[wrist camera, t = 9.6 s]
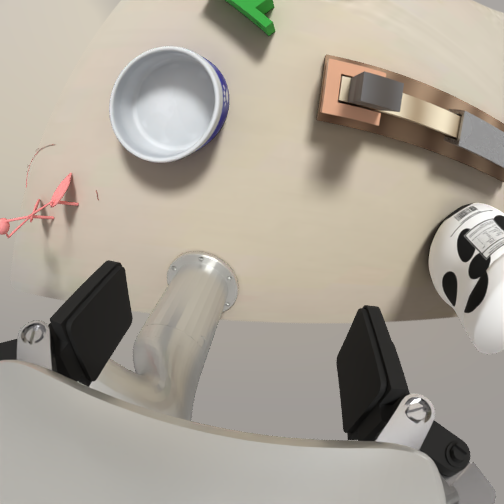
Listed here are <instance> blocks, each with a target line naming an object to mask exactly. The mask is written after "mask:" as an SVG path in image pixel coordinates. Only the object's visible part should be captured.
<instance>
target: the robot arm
mask: <svg viewBox="0 0 504 504" xmlns="http://www.w3.org/2000/svg"><path fill="white" fill-rule="evenodd" d="M167 283H168V287H167V288H166V290H165V292H164V293H163V295H162V296H161V298H160V300H159V301H158V303H157V304H156V306H155V308H154V309H153V311H152V312H151V314H150V316H149V317H148V319H147V321H146V322H145V324H144V326H143V327H142V329H141V331H140V332H139V334H138V336H137V338H136V340H135V343H134V347H133V361H134V367H135V371H136V373H134V372H132V371H131V370H128V369H126V368H125V367H123V366H121V365H120V364H118V363H116V362H115V361H113V360H111V359H110V356H111V355H112V353H113V352H114V350H115V349H116V347H117V346H118V344H119V342H120V341H121V339H122V338H123V336H124V335H125V333H126V332H127V330H128V329H129V327H130V325H131V323H132V313H131V307H130V301H129V295H128V288H127V281H126V274H125V269H124V267H122V265H121V263H118V262H114V261H109V260H108V261H106V262H105V263H104V264H103V265H102V266H101V267H100V268H99V269H98V270H97V271H96V272H94V273H93V274H92V275H91V276H90V277H89V278H88V279H87V280H86V281H85V282H84V283H83V284H82V285H81V286H80V287H79V288H78V289H77V290H76V291H75V293H74V294H73V295H72V296H71V297H70V298H69V299H68V300H67V301H66V302H65V303H64V304H63V305H62V306H61V307H60V308H59V309H58V311H57V312H56V313H55V314H54V315H53V316H52V317H51V318H50V321H51V323H50V324H49V325H47V324H46V323H45V322H43V321H40V320H36V321H31V322H28V323H27V324H25V325H24V326H23V327H22V328H21V330H20V331H19V333H18V339H15V340H11V341H7V342H3V343H0V504H494V503H495V498H496V495H495V490H494V488H493V487H492V486H491V484H490V483H489V481H488V480H487V479H486V478H485V476H484V475H483V474H482V472H481V471H480V470H479V468H478V467H477V466H476V464H475V463H474V462H473V463H471V464H470V462H469V460H470V451H469V448H468V446H467V444H466V443H465V442H463V441H462V440H461V439H459V438H458V437H457V436H455V435H454V434H452V433H451V432H450V431H448V430H447V429H445V428H444V427H442V426H441V425H440V424H438V423H437V422H435V421H434V417H435V409H434V407H433V404H432V403H431V402H430V400H428V399H427V398H426V397H425V396H422V395H420V394H410V393H409V390H408V386H407V383H406V380H405V377H404V373H403V370H402V367H401V364H400V361H399V358H398V355H397V352H396V349H395V346H394V344H393V342H392V341H391V338H390V335H389V332H388V330H387V327H386V324H385V321H384V319H383V316H382V313H381V311H380V308H379V307H376V306H368V305H365V306H364V307H363V308H360V309H359V310H358V311H357V314H356V316H355V318H354V321H353V323H352V325H351V328H350V330H349V332H348V334H347V337H346V339H345V341H344V343H343V346H342V347H341V350H340V352H339V354H338V356H337V371H338V378H339V388H340V398H341V408H342V419H343V429H344V432H345V433H348V440H358V441H339V440H337V441H336V440H314V439H299V438H286V437H277V436H268V435H261V434H254V433H246V432H241V431H235V430H230V429H224V428H219V427H214V426H209V425H205V424H200V423H196V422H192V421H191V417H192V408H193V402H194V397H195V393H196V389H197V385H198V381H199V378H200V375H201V372H202V369H203V366H204V363H205V360H206V357H207V354H208V352H209V349H210V346H211V343H212V340H213V337H214V334H215V331H216V328H217V325H218V322H219V319H220V316H221V314H222V312H224V311H226V310H227V309H229V308H230V307H231V306H232V305H233V304H234V302H235V300H236V298H237V295H238V289H239V287H238V281H237V278H236V275H235V274H234V272H233V270H232V269H231V268H230V267H229V266H228V265H227V264H226V263H225V262H224V261H223V260H221V259H219V258H218V257H216V256H214V255H211V254H209V253H204V252H187V253H185V254H182V255H180V256H179V257H177V258H176V259H175V260H174V261H173V262H172V264H171V265H170V267H169V269H168V273H167Z"/></svg>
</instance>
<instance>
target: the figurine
mask: <svg viewBox="0 0 504 504" xmlns="http://www.w3.org/2000/svg"><path fill="white" fill-rule="evenodd" d="M52 145H53V144H52ZM43 148H44V147H43ZM38 149H39V148H38ZM38 149H37V150H38ZM40 150H41V149H40ZM38 152H39V151H38ZM38 152H37V153H38ZM37 153H36V154H37ZM36 154H35V155H36ZM32 160H33V159H32ZM31 162H32V161H31ZM71 175H72V173H70V174H69V175H68V176H67V177H66V178H65V179H64V180H63V181H62V182H61V183H60V185H59V186H58V187H57V189H56V190H55V192H54V194H53V196H52V199H51V202H49V203H47V204H46V205H44V206H43V207H41V208H39V209H38V210H37V207H38V204H39V202H40V199H38V201H37V203H36V205H35V207H34V210H33V213H32V214H30V215H29V216H25V217H19V218H14V219H9V220H7V219H6V218H1V219H0V234H6V236H7V237H8V238H9V237H11V236H12V235H13V233H15V232H16V231H17V230H18V229H19V228H20V227H21V226H22V225H23V224H24V223H25V222H26V221H27V220H28V219H29V218H31V219H30V222H32V220H33V218H41V219H54V217H52V216H37V215H35V214H36V213H37V212H39V211H40V210H42V209H43V208H45V207H46V206H48V205H49V204H50V206H51V207H54V206H56V205H57V204H65V205H74V206H78V205H79V204H78V203H74V202H66V201H60V200H61V198H62V197H63V196H64V194H65V192H66V191H67V189H68V186H69V184H70V181H71V178H70V176H71ZM26 181H27V180H26ZM26 187H27V182H26ZM96 193H97V190H96ZM97 197H98V195H97ZM98 200H99V199H98ZM26 218H27V219H26ZM21 219H26V220H25V221H24V222H23V223H22V224H21V225H19V226H18V227H17V228H16V229H15V230H14V231H13V232H12V233H11V234H10V235H9V236H8V234H7V232H8V231H9V227H10V225H9V222H10V221H15V220H21Z"/></svg>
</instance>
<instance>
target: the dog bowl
mask: <svg viewBox="0 0 504 504" xmlns="http://www.w3.org/2000/svg"><path fill="white" fill-rule="evenodd" d="M228 109H229V91H228V87H227V84H226V81H225V79H224V77H223V75H222V74H221V72H220V71H219V70H218V68H217V67H216V66H215V65H213V64H212V63H211V62H210V61H208V60H207V59H205V58H204V57H202V56H200V55H198V54H197V53H195V52H193V51H190V50H188V49H185V48H181V47H175V46H165V47H158V48H154V49H151V50H148V51H146V52H144V53H142V54H140V55H139V56H137V57H136V58H134V59H133V60H132V61H131V62H130V63H129V64H128V65H127V66H126V67H125V68H124V69H123V71H122V72H121V73H120V75H119V77H118V78H117V80H116V82H115V84H114V87H113V90H112V93H111V97H110V105H109V113H110V121H111V125H112V128H113V131H114V133H115V135H116V137H117V139H118V140H119V142H120V143H121V144H122V145H123V146H124V148H125V149H126V150H128V151H129V152H130V153H132V154H133V155H135V156H136V157H138V158H140V159H143V160H146V161H150V162H156V163H166V162H172V161H176V160H179V159H182V158H184V157H186V156H188V155H190V154H192V153H193V152H195V151H197V150H199V149H200V148H202V147H203V146H205V145H206V144H207V143H208V142H210V141H211V140H212V139H213V138H214V137H215V136H216V135H217V133H218V132H219V131H220V129H221V128H222V126H223V124H224V122H225V120H226V117H227V113H228Z"/></svg>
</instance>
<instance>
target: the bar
mask: <svg viewBox="0 0 504 504" xmlns="http://www.w3.org/2000/svg"><path fill="white" fill-rule="evenodd" d="M403 87H404V83H401V82H398V81H395V80H392V79H389V78H386V77H383V76H379V75H376V74H373V73H369V72H365V71H364V72H362V73H360V74H358V75H356V76H354V77H352V78H349V77H345V76H342V77H341V81H340V88H339V95H338V101H339V102H344V103H348V104H352V105H356V106H360V107H364V108H368V109H372V110H375V111H379V112H382V113H386V114H389V115H392V116H396V117H399V118H402V119H405V120H408V121H411V122H414V123H417V124H420V125H422V126H425V127H428V128H430V129H433V130H436V131H438V132H441V133H443V134H446V135H448V136H450V137H453V138H455V139H458V134H459V128H460V123H461V117H460V116H458V115H456V114H454V113H452V112H450V111H447V110H445V109H443V108H440V107H438V106H436V105H433V104H431V103H428V102H426V101H423V100H421V99H418V98H415V97H413V96H410V95H407V94H404V93H403Z"/></svg>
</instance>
